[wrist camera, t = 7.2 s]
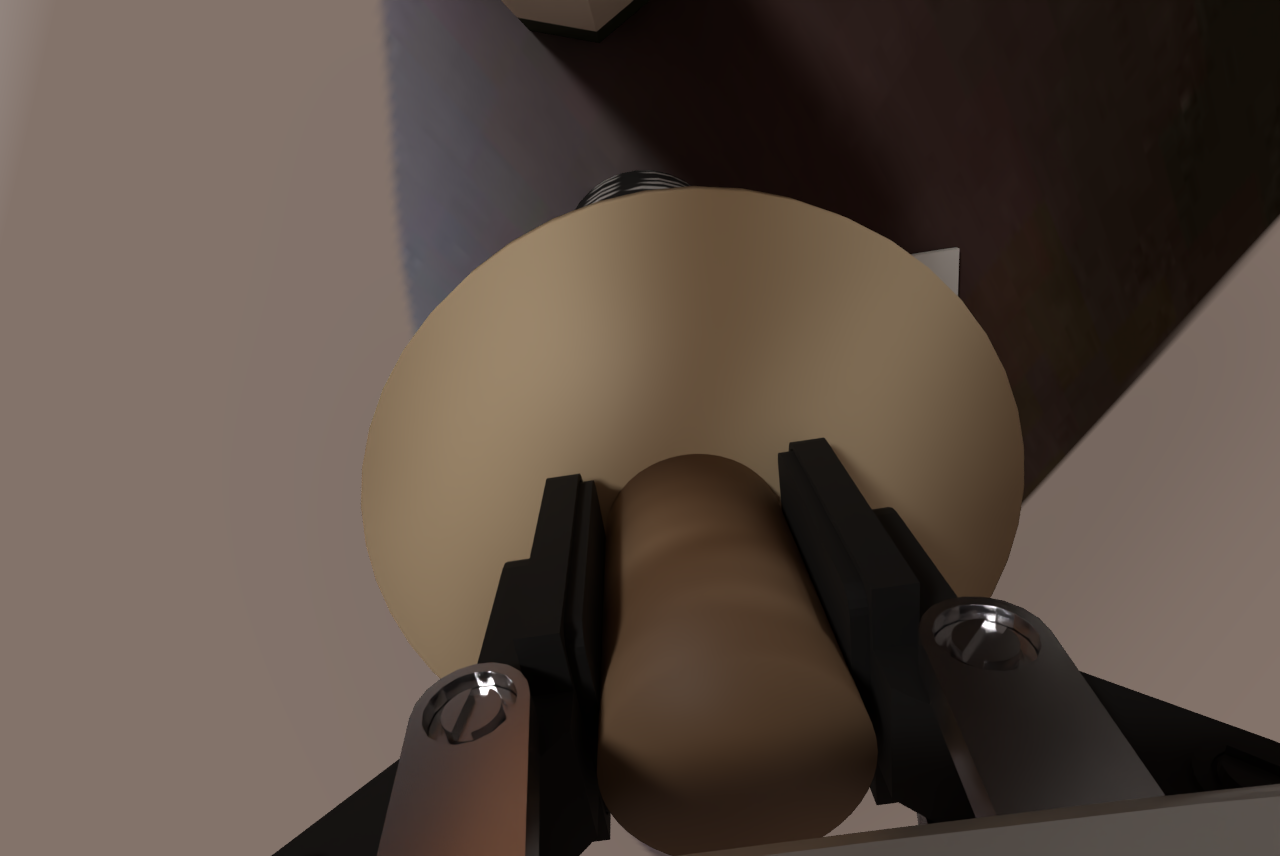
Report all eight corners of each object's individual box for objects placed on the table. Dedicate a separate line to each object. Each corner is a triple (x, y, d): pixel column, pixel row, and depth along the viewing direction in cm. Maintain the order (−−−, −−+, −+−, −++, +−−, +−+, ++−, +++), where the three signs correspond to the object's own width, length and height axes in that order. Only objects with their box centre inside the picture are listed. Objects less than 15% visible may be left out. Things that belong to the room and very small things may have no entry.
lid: (1018, 129, 10) (1412, 132, 5) (986, 701, 15) (1181, 1008, 9) (284, 249, 11) (-22, 360, 6) (465, 770, 15) (385, 1101, 10)
